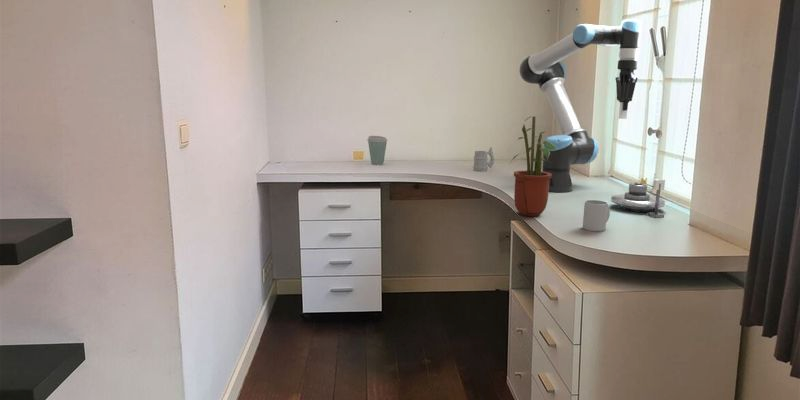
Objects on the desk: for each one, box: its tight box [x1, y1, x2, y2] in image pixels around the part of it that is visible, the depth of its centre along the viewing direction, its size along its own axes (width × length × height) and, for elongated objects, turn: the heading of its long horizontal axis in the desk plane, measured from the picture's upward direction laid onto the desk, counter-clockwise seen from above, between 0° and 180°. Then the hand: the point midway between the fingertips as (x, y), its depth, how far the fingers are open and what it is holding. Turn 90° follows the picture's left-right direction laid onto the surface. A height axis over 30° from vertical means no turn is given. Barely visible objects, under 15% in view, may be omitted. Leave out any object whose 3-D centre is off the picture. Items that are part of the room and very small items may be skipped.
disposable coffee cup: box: [366, 135, 388, 166], centre depth 331 cm, size 11×11×15 cm
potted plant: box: [509, 115, 557, 217], centre depth 218 cm, size 17×16×35 cm
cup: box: [582, 199, 611, 232], centre depth 199 cm, size 7×10×9 cm
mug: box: [472, 147, 495, 172], centre depth 319 cm, size 8×12×12 cm, turn 112°
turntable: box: [610, 177, 666, 209], centre depth 232 cm, size 19×19×8 cm
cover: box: [624, 182, 651, 201], centre depth 232 cm, size 9×9×6 cm
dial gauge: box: [647, 178, 666, 219], centre depth 220 cm, size 4×6×13 cm
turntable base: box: [620, 205, 653, 213], centre depth 233 cm, size 11×11×2 cm
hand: (622, 118), depth 251 cm, fingers closed
